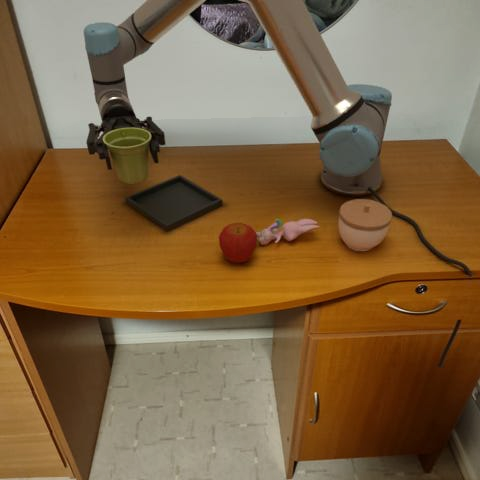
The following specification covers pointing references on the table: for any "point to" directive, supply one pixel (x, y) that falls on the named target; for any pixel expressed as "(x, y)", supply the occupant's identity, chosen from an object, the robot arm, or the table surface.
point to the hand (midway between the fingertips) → (132, 159)
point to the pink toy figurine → (285, 230)
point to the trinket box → (363, 223)
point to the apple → (238, 242)
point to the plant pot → (129, 153)
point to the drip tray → (173, 202)
